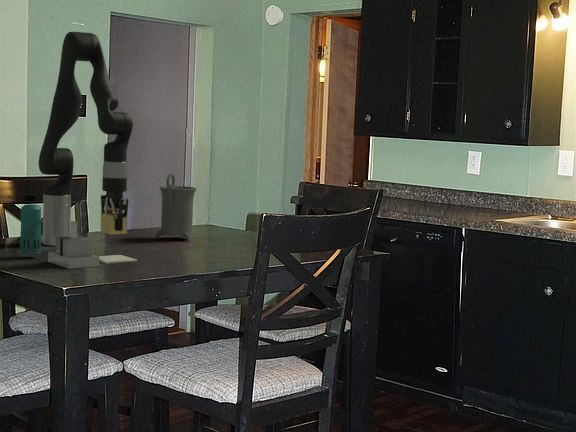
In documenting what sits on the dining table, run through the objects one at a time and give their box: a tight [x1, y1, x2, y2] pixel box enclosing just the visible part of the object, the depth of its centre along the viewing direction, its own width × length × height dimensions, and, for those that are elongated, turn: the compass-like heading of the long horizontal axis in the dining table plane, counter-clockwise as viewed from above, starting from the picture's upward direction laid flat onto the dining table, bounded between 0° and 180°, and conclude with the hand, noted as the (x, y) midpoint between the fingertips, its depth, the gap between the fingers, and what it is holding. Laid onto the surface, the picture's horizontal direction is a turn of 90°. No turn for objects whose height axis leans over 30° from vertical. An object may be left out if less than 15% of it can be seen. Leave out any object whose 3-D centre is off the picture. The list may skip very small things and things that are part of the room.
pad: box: [98, 254, 138, 264], centre depth 291 cm, size 11×11×1 cm
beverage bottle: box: [19, 193, 43, 255], centre depth 288 cm, size 6×7×20 cm
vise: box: [47, 220, 100, 269], centre depth 280 cm, size 14×10×13 cm
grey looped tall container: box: [153, 172, 197, 243], centre depth 342 cm, size 19×15×25 cm
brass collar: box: [100, 212, 128, 235], centre depth 290 cm, size 6×6×6 cm
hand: (113, 229), depth 290 cm, fingers closed on brass collar, 6 cm apart
